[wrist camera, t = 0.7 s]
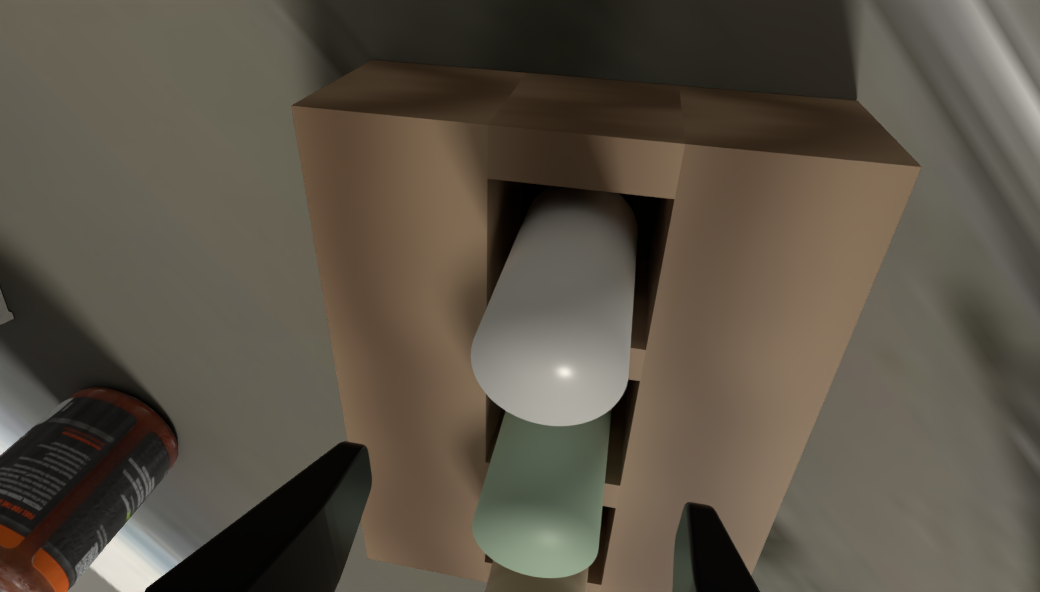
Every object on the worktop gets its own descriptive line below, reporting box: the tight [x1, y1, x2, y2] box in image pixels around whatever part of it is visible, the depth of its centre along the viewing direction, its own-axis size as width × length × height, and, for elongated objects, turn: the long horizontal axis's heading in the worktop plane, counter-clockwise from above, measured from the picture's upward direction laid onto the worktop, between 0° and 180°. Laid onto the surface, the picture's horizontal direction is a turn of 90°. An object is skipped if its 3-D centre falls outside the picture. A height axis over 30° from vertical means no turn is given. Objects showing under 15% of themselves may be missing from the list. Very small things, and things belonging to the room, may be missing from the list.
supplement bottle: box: [0, 388, 178, 592], centre depth 27 cm, size 6×6×11 cm
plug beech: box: [485, 560, 589, 592], centre depth 21 cm, size 3×3×6 cm
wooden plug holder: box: [291, 60, 922, 592], centre depth 21 cm, size 14×18×5 cm
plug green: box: [472, 409, 612, 578], centre depth 18 cm, size 3×3×6 cm
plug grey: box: [471, 186, 638, 426], centre depth 15 cm, size 3×3×6 cm
